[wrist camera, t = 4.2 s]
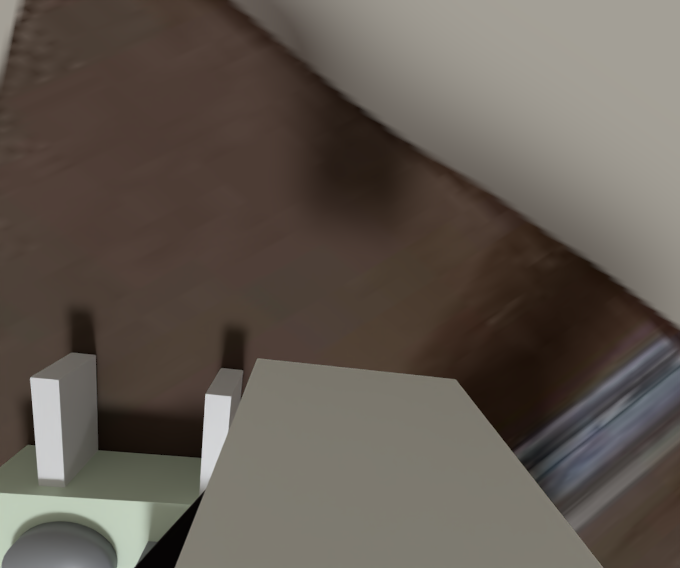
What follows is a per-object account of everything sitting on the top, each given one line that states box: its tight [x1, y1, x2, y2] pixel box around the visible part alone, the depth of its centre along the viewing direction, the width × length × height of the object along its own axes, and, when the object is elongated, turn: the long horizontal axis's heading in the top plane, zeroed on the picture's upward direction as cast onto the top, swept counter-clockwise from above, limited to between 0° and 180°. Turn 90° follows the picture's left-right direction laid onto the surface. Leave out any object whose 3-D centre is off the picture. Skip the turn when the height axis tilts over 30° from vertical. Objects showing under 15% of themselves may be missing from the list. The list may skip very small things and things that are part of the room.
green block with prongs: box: [0, 353, 243, 568], centre depth 16 cm, size 14×14×6 cm
